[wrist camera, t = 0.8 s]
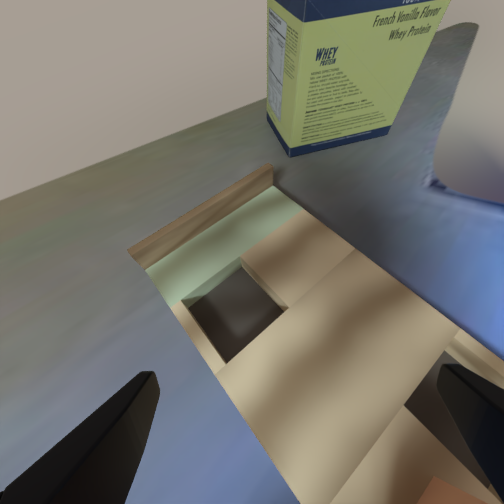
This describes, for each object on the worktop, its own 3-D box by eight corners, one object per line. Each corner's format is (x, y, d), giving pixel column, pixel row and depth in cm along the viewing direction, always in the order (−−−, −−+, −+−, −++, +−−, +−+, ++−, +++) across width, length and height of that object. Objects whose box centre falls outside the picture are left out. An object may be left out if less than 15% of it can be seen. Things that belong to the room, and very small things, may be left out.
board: (562, 433, 16) (671, 448, 12) (439, 700, 11) (547, 893, 7) (267, 196, 29) (268, 162, 24) (151, 275, 24) (126, 249, 20)
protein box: (389, 134, 34) (470, -34, 20) (288, 159, 32) (303, -5, 19) (353, 100, 39) (398, -52, 26) (264, 119, 37) (263, -31, 24)
